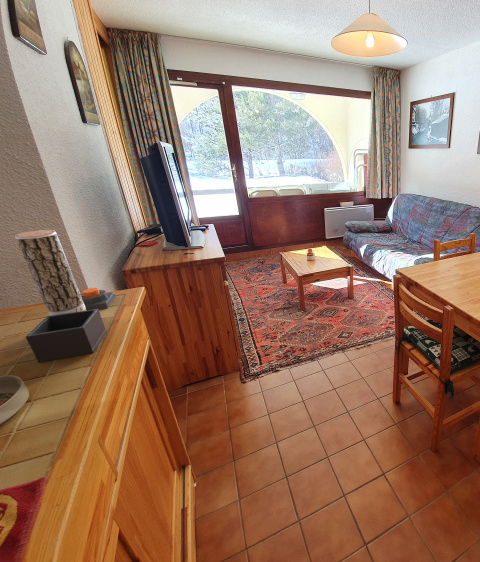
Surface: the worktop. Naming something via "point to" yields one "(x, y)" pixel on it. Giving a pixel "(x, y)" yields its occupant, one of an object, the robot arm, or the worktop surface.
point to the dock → (67, 335)
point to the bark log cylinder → (50, 271)
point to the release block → (98, 300)
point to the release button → (90, 292)
